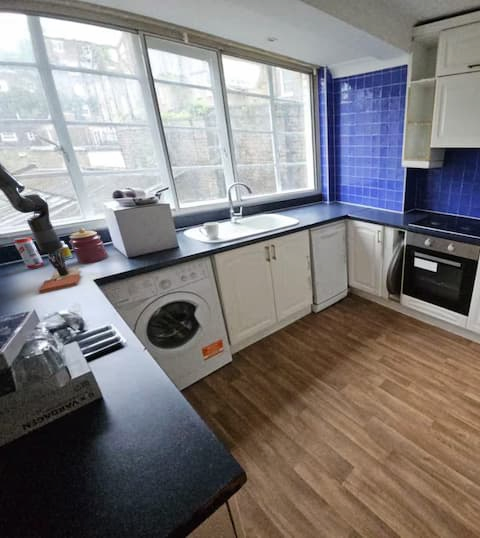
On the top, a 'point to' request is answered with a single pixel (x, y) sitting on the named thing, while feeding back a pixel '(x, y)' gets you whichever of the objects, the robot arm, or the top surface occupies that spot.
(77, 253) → the kitchen canister
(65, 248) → the supplement bottle
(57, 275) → the cork pad
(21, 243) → the beer can
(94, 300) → the top surface
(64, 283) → the rubber pad
